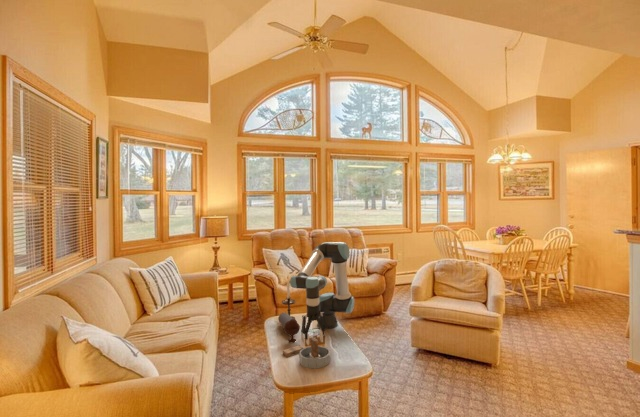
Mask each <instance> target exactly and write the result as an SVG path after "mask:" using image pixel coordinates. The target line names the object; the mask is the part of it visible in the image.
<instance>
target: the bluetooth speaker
mask: <svg viewBox="0 0 640 417" xmlns="http://www.w3.org/2000/svg"><path fill="white" fill-rule="evenodd" d="M291 319H292V317H291V314H290V315H288V312H281V313H280V314H279V315H278V322H279V324H280V326H281V327H282V329H284V326H285V324H286V322H287V321H290V320H291Z"/></svg>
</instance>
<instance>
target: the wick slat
mask: <svg viewBox="0 0 640 417" xmlns="http://www.w3.org/2000/svg"><path fill="white" fill-rule="evenodd" d="M310 346H311V355H312V356H313V357H314V358H315V357H319V355H318V346H319V340H318V339H317V338H316V337H311V338H310Z"/></svg>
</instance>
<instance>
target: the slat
mask: <svg viewBox="0 0 640 417" xmlns="http://www.w3.org/2000/svg"><path fill="white" fill-rule="evenodd" d="M304 348H305V347H303V346H301V345H296V346H293V347H291V348H286V349H284V350H282V355H283V356H285V357H286V358H288V357H290V356H293V355H297V354H299V353H300V350H302V349H304Z"/></svg>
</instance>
